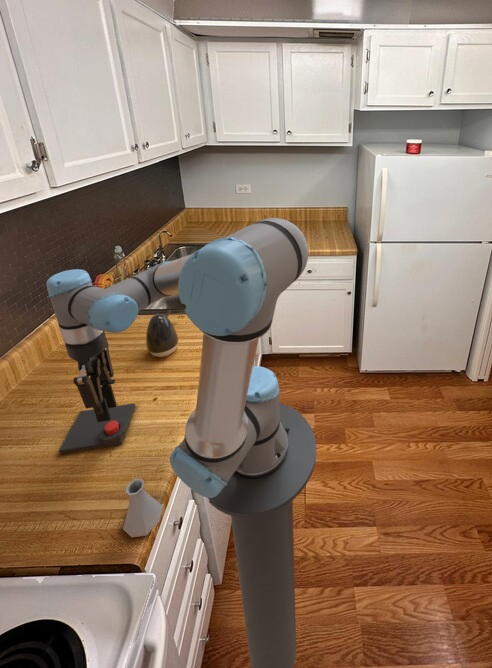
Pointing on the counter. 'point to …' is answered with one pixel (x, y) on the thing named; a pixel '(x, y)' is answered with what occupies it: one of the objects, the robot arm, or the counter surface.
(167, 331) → the dark grey egg shape
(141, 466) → the counter surface
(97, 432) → the scale
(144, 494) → the flask
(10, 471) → the counter surface
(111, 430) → the button
